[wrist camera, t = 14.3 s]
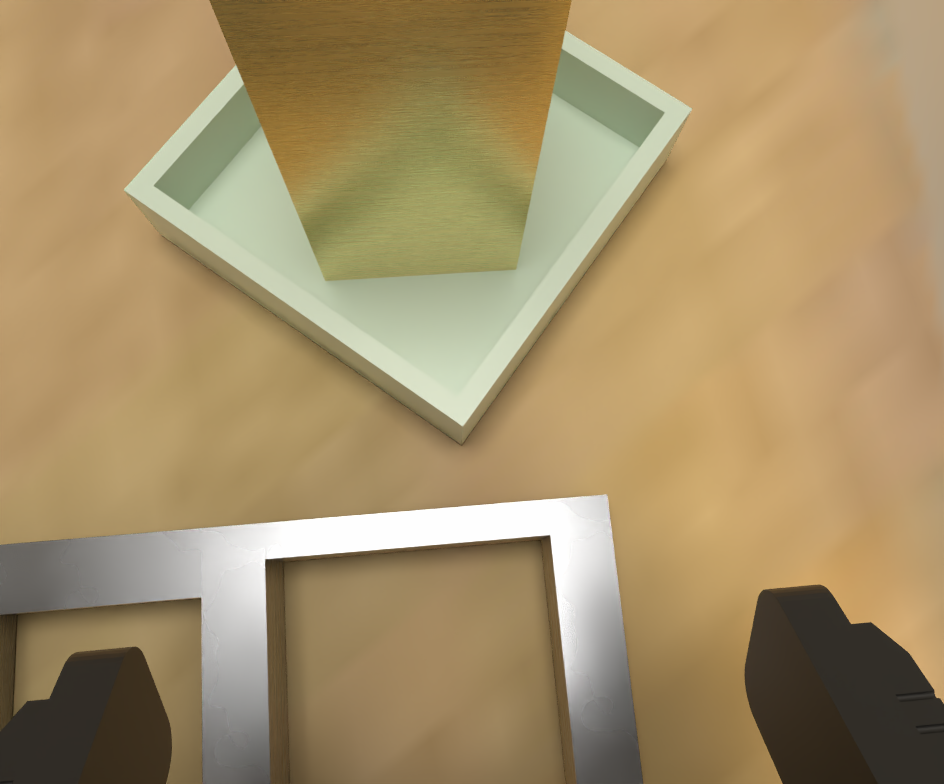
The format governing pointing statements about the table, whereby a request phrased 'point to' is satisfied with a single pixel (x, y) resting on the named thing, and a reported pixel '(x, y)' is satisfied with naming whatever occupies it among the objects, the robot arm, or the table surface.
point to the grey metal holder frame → (263, 616)
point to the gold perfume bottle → (402, 123)
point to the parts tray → (425, 296)
